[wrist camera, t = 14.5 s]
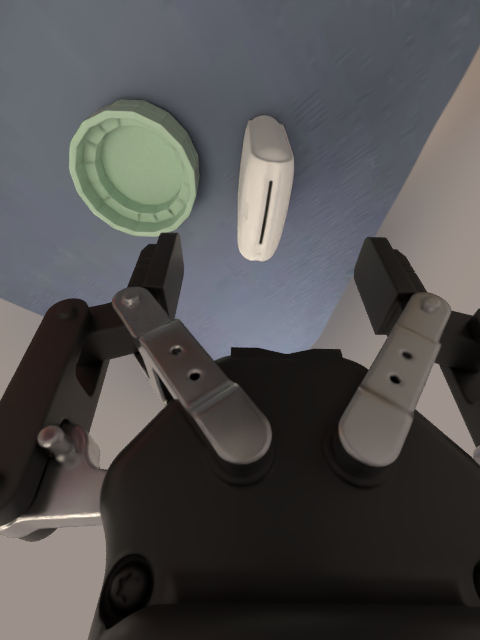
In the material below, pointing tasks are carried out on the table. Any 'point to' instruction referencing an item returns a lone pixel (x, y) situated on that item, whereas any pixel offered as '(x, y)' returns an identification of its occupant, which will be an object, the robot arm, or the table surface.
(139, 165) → the bowl
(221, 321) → the table surface
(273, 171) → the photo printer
